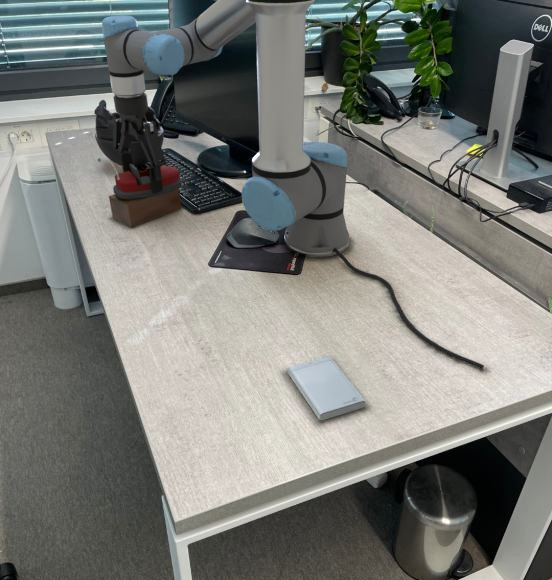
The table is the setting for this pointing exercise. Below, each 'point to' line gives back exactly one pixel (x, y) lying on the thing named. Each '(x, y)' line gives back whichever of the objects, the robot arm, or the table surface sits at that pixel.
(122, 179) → the bumper car
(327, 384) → the hard drive
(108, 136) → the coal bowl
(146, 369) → the table surface
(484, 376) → the table surface
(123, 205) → the walnut block
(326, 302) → the table surface
